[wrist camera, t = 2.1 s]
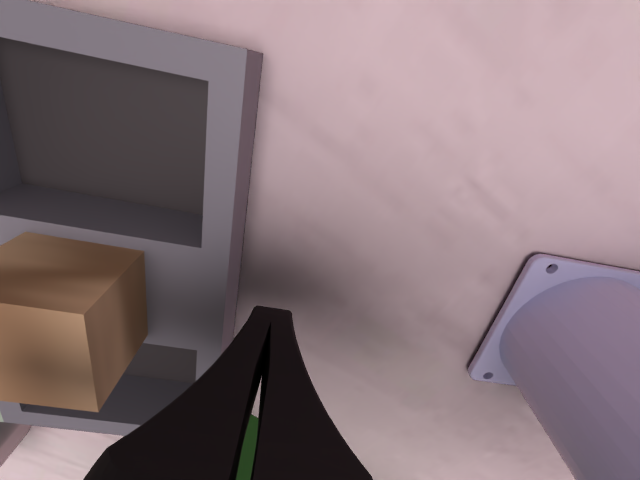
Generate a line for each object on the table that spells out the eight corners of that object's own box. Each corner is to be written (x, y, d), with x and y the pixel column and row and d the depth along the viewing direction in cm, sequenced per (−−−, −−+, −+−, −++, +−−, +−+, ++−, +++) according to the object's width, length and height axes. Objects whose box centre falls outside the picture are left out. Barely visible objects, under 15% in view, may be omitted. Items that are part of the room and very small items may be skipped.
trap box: (263, 53, 12) (247, 49, 9) (226, 394, 20) (212, 445, 17) (-254, -62, 10) (-452, -107, 8) (-68, 357, 18) (-134, 407, 16)
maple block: (144, 251, 12) (83, 314, 9) (147, 334, 14) (98, 412, 11) (25, 231, 12) (-82, 291, 9) (45, 320, 13) (-38, 396, 10)
